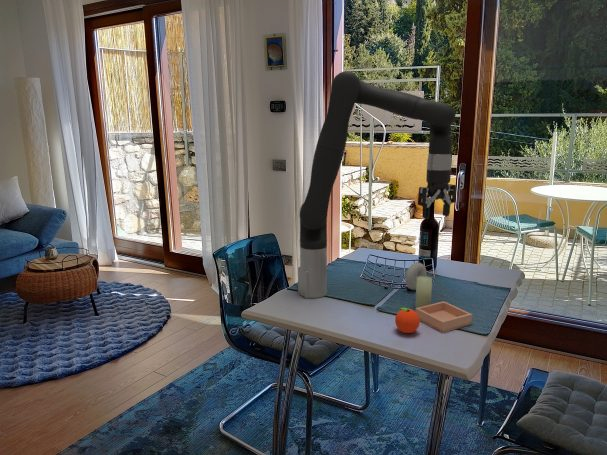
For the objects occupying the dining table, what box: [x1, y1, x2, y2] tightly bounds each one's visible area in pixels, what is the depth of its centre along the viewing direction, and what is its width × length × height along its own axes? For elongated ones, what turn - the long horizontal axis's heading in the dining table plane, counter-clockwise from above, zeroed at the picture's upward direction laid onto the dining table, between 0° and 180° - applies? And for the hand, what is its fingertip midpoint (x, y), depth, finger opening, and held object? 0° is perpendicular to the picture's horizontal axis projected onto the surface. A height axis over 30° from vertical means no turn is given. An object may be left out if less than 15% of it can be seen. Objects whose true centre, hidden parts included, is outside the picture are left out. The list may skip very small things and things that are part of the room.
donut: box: [404, 262, 428, 291], centre depth 170 cm, size 10×3×10 cm, turn 130°
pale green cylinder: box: [414, 275, 433, 308], centre depth 154 cm, size 5×5×10 cm
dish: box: [414, 300, 473, 334], centre depth 144 cm, size 12×12×3 cm
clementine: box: [394, 307, 421, 334], centre depth 137 cm, size 8×7×7 cm
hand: (435, 217), depth 157 cm, fingers open, 8 cm apart
